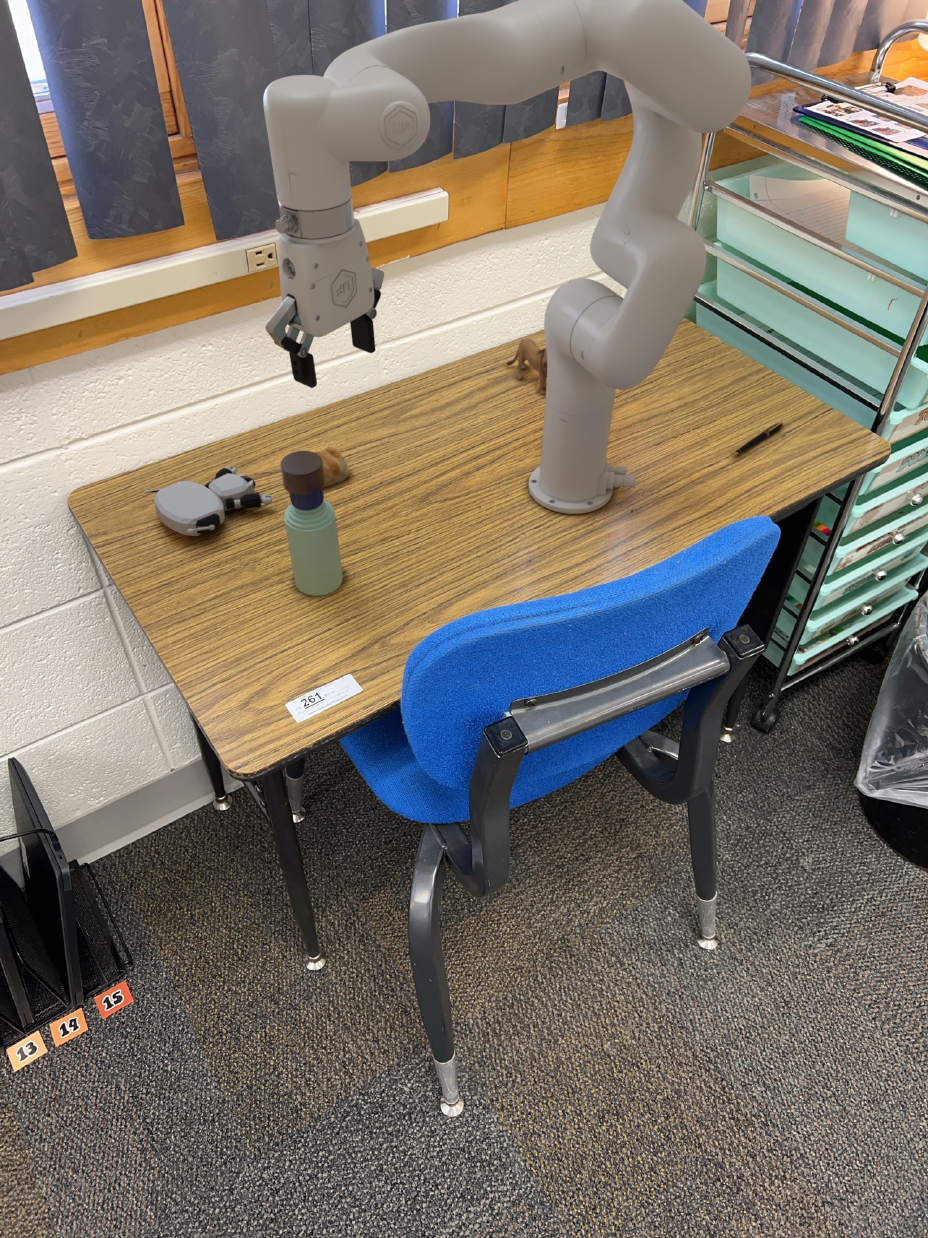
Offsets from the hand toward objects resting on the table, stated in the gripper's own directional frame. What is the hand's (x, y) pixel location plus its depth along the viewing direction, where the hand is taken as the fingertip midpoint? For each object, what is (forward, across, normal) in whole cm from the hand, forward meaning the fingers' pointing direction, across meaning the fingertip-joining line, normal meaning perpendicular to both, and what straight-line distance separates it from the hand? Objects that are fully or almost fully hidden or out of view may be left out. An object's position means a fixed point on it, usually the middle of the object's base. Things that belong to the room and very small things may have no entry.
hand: (335, 365), depth 106 cm
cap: (+13, -7, +1) cm, 15 cm away
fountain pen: (+31, +60, -31) cm, 74 cm away
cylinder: (+13, -7, +1) cm, 15 cm away
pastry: (+29, +10, +17) cm, 35 cm away
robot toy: (+29, -6, +23) cm, 38 cm away
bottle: (+29, -7, +1) cm, 30 cm away
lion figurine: (+30, +54, +7) cm, 62 cm away
